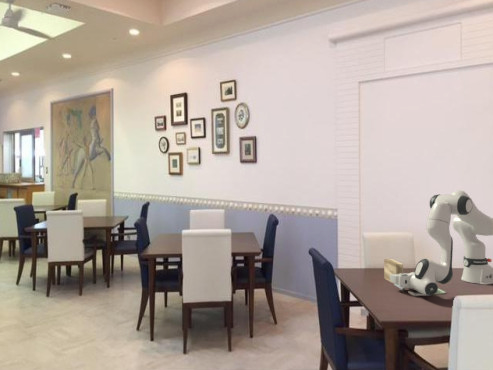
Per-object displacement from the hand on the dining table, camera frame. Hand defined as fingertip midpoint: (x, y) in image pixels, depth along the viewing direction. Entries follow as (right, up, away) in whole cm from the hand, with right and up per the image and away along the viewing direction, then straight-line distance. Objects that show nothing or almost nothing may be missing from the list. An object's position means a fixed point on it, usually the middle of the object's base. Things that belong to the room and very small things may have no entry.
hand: (401, 274), depth 241 cm
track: (+1, -7, -3) cm, 7 cm away
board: (-1, -6, +9) cm, 11 cm away
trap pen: (+3, -7, -16) cm, 17 cm away
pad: (+13, -7, -8) cm, 17 cm away
